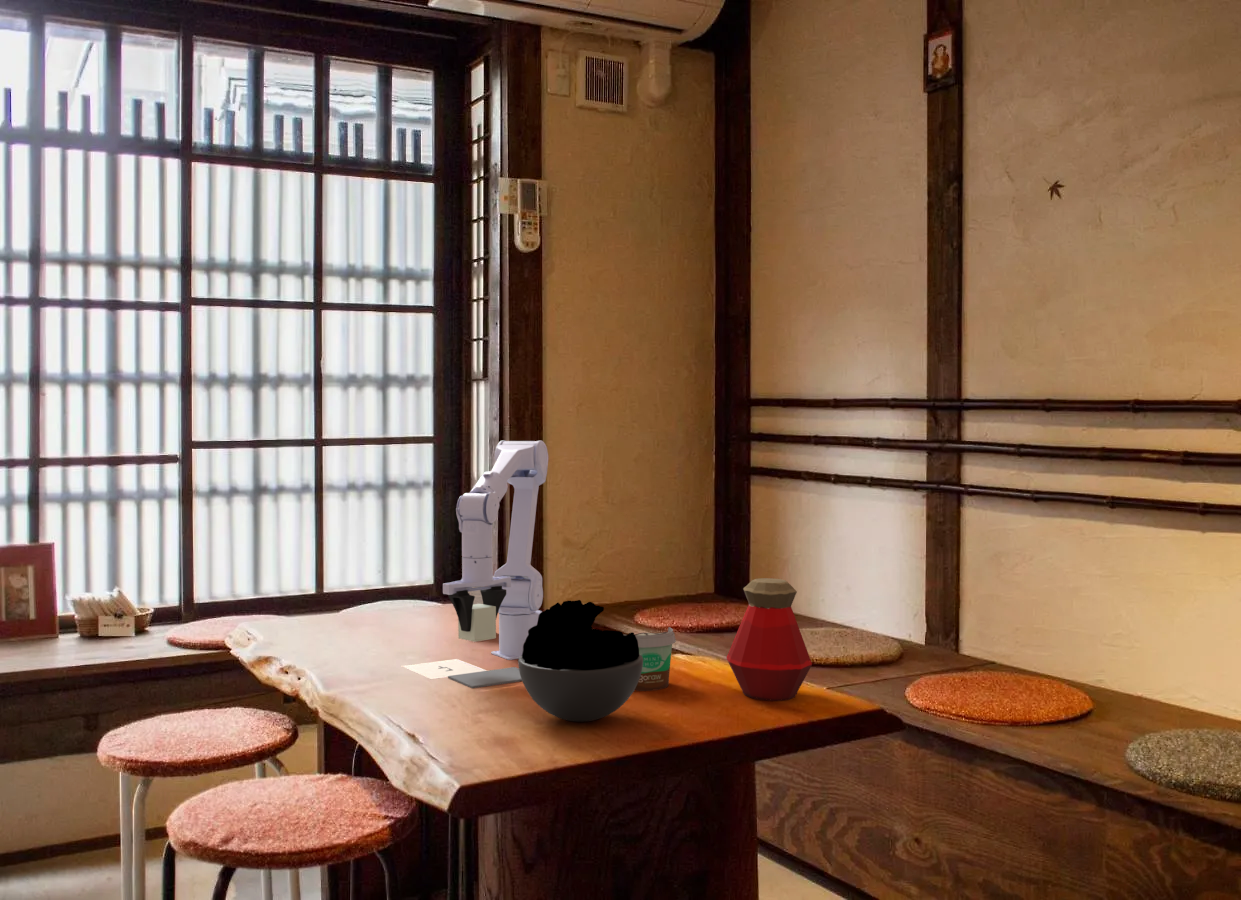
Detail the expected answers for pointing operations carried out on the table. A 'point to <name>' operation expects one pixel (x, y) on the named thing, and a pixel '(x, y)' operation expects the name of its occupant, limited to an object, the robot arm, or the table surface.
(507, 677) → the slate mat
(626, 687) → the bowl of black rocks
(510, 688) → the table surface
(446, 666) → the card
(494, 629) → the sage block
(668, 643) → the food container
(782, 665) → the bottle
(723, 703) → the table surface
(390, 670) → the table surface
